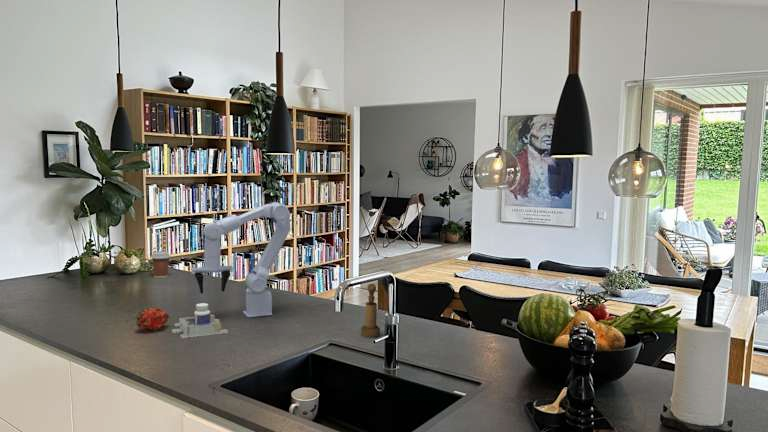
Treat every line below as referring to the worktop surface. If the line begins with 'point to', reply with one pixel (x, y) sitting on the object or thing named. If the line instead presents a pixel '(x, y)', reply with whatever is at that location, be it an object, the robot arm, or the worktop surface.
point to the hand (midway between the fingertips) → (212, 291)
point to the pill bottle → (201, 314)
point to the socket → (198, 327)
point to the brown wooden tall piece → (370, 316)
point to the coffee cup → (160, 264)
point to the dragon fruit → (152, 319)
